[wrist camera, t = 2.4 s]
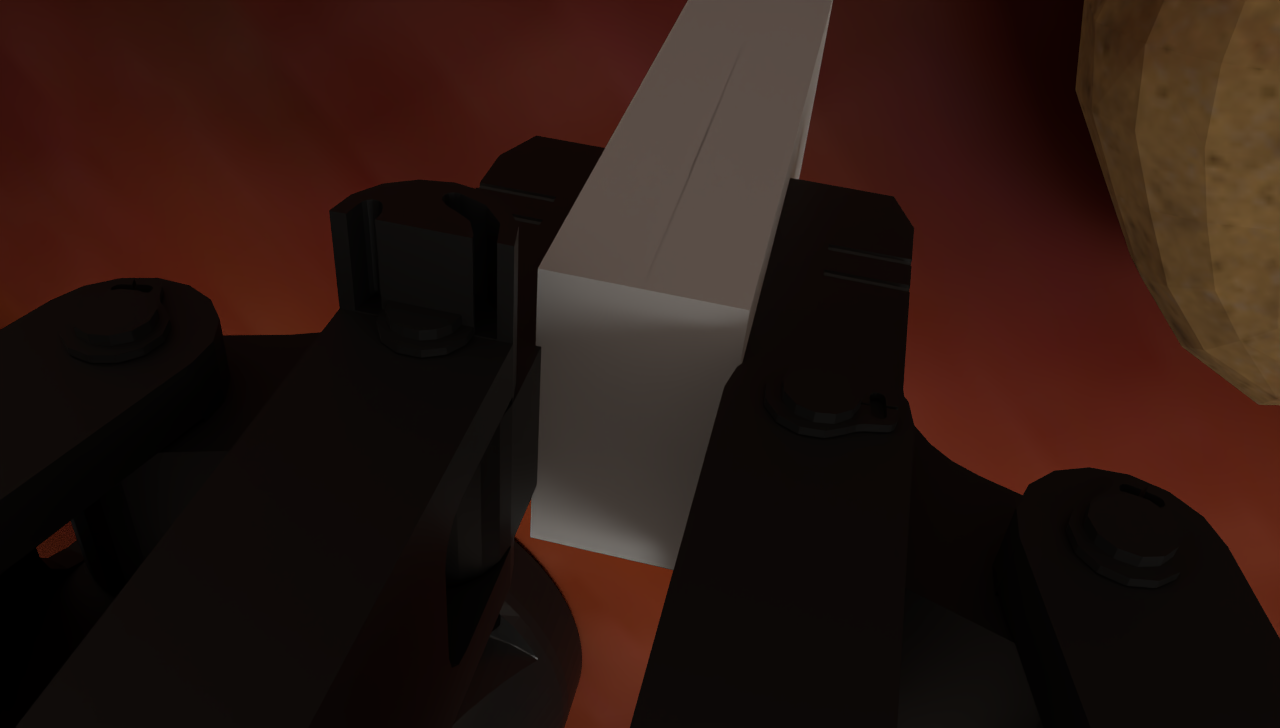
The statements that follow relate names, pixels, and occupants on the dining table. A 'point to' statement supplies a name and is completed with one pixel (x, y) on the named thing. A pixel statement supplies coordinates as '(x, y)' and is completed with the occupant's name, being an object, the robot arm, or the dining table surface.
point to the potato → (1195, 167)
